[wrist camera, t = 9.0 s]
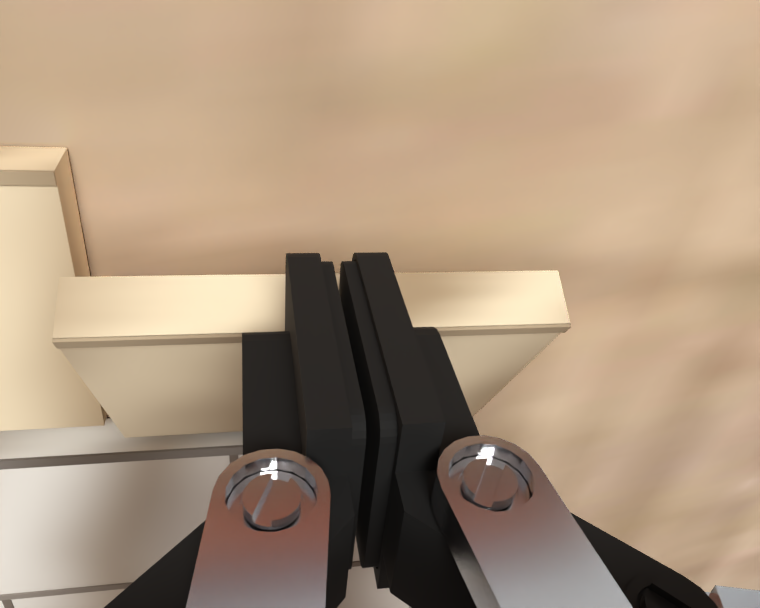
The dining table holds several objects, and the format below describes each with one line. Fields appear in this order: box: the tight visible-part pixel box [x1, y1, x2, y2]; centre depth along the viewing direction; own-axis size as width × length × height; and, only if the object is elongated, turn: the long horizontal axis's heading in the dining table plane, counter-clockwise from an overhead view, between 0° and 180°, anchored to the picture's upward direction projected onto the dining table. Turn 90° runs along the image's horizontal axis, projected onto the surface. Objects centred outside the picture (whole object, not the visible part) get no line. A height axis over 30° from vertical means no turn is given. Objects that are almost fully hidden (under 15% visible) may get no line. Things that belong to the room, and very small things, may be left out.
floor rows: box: [0, 418, 409, 608], centre depth 22 cm, size 20×12×1 cm, turn 85°
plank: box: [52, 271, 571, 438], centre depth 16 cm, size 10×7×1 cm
